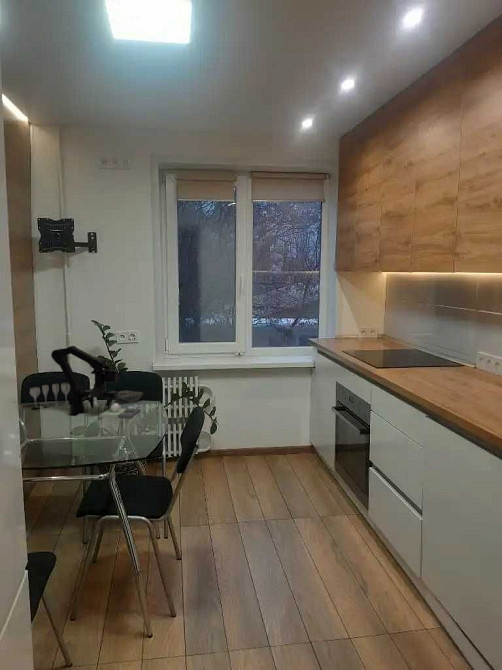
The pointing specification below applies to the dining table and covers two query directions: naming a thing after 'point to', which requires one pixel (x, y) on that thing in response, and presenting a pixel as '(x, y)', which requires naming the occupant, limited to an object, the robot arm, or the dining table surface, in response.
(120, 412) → the panel
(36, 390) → the goblet set
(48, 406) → the dining table surface
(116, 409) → the ball
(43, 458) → the dining table surface
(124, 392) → the stone
